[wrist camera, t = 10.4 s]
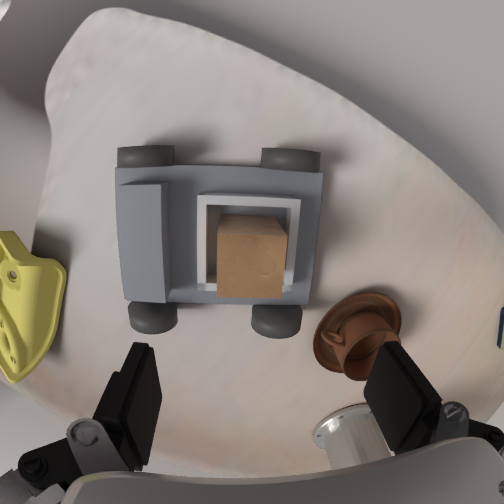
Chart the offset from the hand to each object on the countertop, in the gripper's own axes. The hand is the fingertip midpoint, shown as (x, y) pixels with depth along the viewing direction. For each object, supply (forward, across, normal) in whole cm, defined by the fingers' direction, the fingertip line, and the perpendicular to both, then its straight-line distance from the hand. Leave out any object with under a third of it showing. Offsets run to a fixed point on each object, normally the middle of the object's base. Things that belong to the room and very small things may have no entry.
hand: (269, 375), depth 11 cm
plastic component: (+20, +31, +9) cm, 38 cm away
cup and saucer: (+20, -14, +11) cm, 27 cm away
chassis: (+20, +3, 0) cm, 20 cm away
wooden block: (+18, 0, 0) cm, 18 cm away
